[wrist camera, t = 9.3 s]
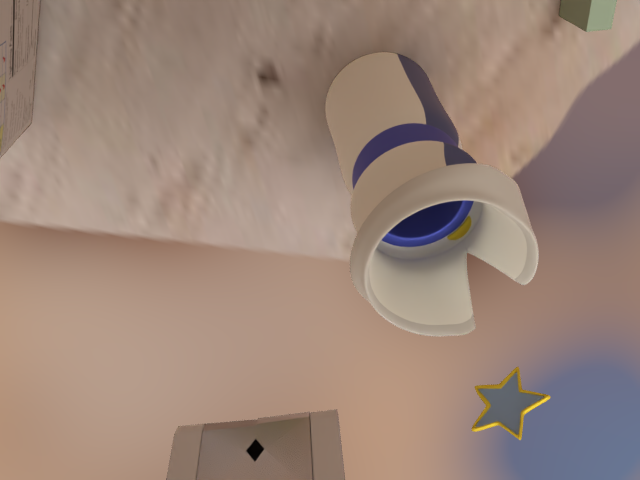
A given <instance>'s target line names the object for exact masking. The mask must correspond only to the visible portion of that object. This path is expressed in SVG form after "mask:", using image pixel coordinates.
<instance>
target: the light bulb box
mask: <svg viewBox="0 0 640 480" xmlns="http://www.w3.org/2000/svg"><path fill="white" fill-rule="evenodd" d="M39 7H40V0H0V158H1V157H2V156H3V155H4V153H5V152H6V151H7V150H8V149H9V148H10V147H11V145H12V144H13V143H14V142H15V141H16V140H17V139H18V138H19V137H20V136H21V134H22V133H23V132H24V131H25V130H26V129H27V128H28V127H29V126H30V124H31V121H32V109H33V94H34V79H35V63H36V50H37V37H38V21H39Z"/></svg>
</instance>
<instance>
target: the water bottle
mask: <svg viewBox="0 0 640 480" xmlns="http://www.w3.org/2000/svg"><path fill="white" fill-rule="evenodd" d="M325 114H326V120H327V124H328V127H329V130H330V132H331V135H332V138H333V141H334V145H335V148H336V152H337V156H338V161H339V165H340V169H341V173H342V176H343V179H344V182H345V184H346V187H347V189H348V191H349V192H350V194H351V195H352V198H351V217H352V221H353V224H354V227H355V229H356V231H357V236H356V238H355V241H354V243H353V247H352V251H351V256H350V273H351V278H352V281H353V284H354V286H355V288H356V289H357V290H358V292H359V293H360V294H361V295H362V296H363V297H364V298H365V299H366V300H367V301H369V302H370V304H371V305H372V307H373V308H374V309H375V310H376V311H377V312H378V313H379V314H380V315H381V316H382V317H383V318H384V319H386V320H387V321H389V322H390V323H392V324H393V325H395V326H397V327H399V328H401V329H404V330H407V331H409V332H412V333H416V334H420V335H426V336H453V335H454V336H455V335H465V334H468V333H469V332H471V331H473V330H474V329H475V328H476V326H475V322H474V316H473V310H472V303H471V296H470V289H469V282H468V274H467V264H466V256H467V253H470V254H472V255H474V256H476V257H478V258H479V259H482V260H483V261H485V262H487V263H488V264H490V265H492V266H493V267H495V268H497V269H498V270H500V271H501V272H503V273H504V274H506V275H507V276H509V277H510V278H512V279H513V280H515V281H516V282H518V283H520V284H522V285H526V284H527V283H529V282H530V281H531V279H532V278H533V276H534V274H535V272H536V269H537V265H538V256H539V255H538V254H539V253H538V245H537V240H536V238H535V235H534V233H533V230H532V228H531V225H530V221H529V218H528V215H527V211H526V208H525V205H524V202H523V199H522V196H521V192H520V189H519V186H518V185H517V183H516V182H515V181H514V180H513V179H512V178H510V177H509V176H508V175H506V174H505V173H503V172H502V171H500V170H499V169H497V168H495V167H493V166H490V165H486V164H479V163H476V161H475V160H474V159H473V158H472V157H471V156H470V155H469V154H468V153H466V152H465V151H463V150H462V144H461V140H460V138H459V135H458V133H457V130H456V128H455V126H454V125H453V123H452V121H451V119H450V118H449V116H448V114H447V113H446V111H445V110H444V108H443V106H442V105H441V103H440V101H439V99H438V97H437V95H436V93H435V91H434V89H433V87H432V85H431V83H430V81H429V79H428V77H427V75H426V73H425V72H424V71H423V69H422V68H421V67H420V66H419V65H418V64H416V63H415V62H414V61H412V60H411V59H409V58H407V57H405V56H403V55H400V54H396V53H390V52H378V53H372V54H368V55H365V56H362V57H360V58H358V59H356V60H354V61H352V62H351V63H349V64H348V65H347V66H346V67H344V68H343V69H342V70H341V71H340V72H339V74H338V75H337V76H336V77H335V79H334V80H333V82H332V84H331V86H330V88H329V91H328V94H327V97H326V103H325ZM475 389H476V392H477V394H478V395H479V397H480V398H481V400H482V401H483V402H484V403H485V404H486V407H485V409H484V410H483V412H482V413H481V415H480V416H479V417H478V419H477V420H476V422H475V423H474V425H473V427H472V431H474V432H475V431H480V430H483V429H487V428H490V427H493V426H497V425H499V426H501V427H503V428H504V429H506V430H507V431H508V432H510V433H511V434H512V435H514V436H515V437H516V438H518V439H519V440H521V437H522V428H523V418H524V415H525V414H526V413H527V412H529V411H531V410H532V409H534V408H536V407H537V406H539V405H540V404H542V403H544V402H546V401H547V400H548V399H550V396H549V395H546V394H541V393H536V392H531V391H526V390H522V386H521V379H520V371H519V368H518V367H516V368H515V369H514V370H513V371H512V372H511V373H510V374H509V375H508V376H507V377H506V378H505V379H504V380H503V381H502V382H501V383H500V384H497V385H479V386H475Z"/></svg>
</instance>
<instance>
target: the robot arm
mask: <svg viewBox="0 0 640 480" xmlns="http://www.w3.org/2000/svg"><path fill="white" fill-rule="evenodd" d="M166 480H345V473H344V464H343V455H342V446H341V436H340V427H339V418H338V412H337V410H328V411H319V412H311V413H310V412H305V413H297V414H289V415H281V416H273V417H264V418H258V419H257V420H244V421H232V422H220V423H208V424H197V425H187V426H178V428H177V430H176V432H175V434H174V439H173V444H172V450H171V456H170V461H169V467H168V472H167V478H166Z"/></svg>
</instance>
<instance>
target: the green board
mask: <svg viewBox="0 0 640 480" xmlns="http://www.w3.org/2000/svg"><path fill="white" fill-rule="evenodd" d="M616 2H617V0H561V4H560V11H559V16H560V17H562V18H563V19H565V20H567V21H568V22H570V23H572V24H574V25H575V26H577V27H579V28H580V29H582V30H584V31H586V32H590V31H599V30H608V29H611V27H612V22H613V17H614V12H615V7H616Z"/></svg>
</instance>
